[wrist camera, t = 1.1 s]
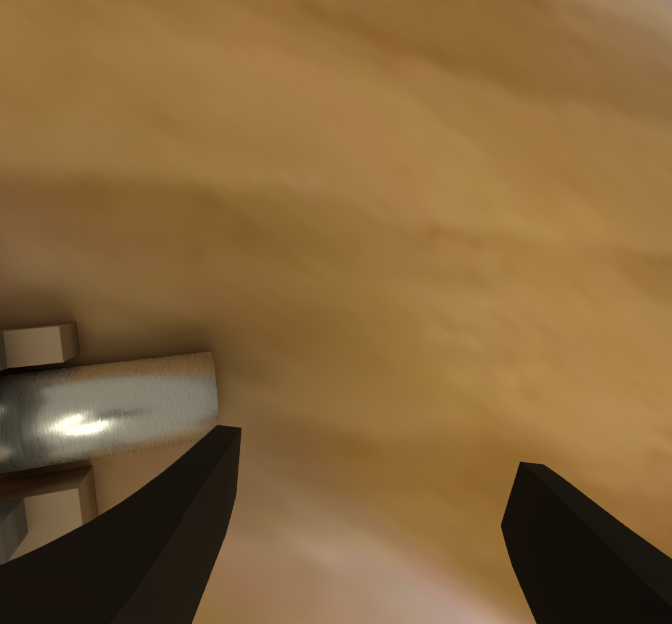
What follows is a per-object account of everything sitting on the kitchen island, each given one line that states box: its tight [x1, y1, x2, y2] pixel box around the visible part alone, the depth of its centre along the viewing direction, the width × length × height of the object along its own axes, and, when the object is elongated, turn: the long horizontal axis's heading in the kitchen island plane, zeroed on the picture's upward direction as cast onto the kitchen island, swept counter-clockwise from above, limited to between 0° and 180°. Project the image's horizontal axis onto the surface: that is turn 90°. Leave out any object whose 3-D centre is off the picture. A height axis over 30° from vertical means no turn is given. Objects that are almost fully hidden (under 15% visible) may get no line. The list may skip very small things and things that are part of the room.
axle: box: [0, 351, 220, 474], centre depth 20 cm, size 12×4×4 cm, turn 95°
